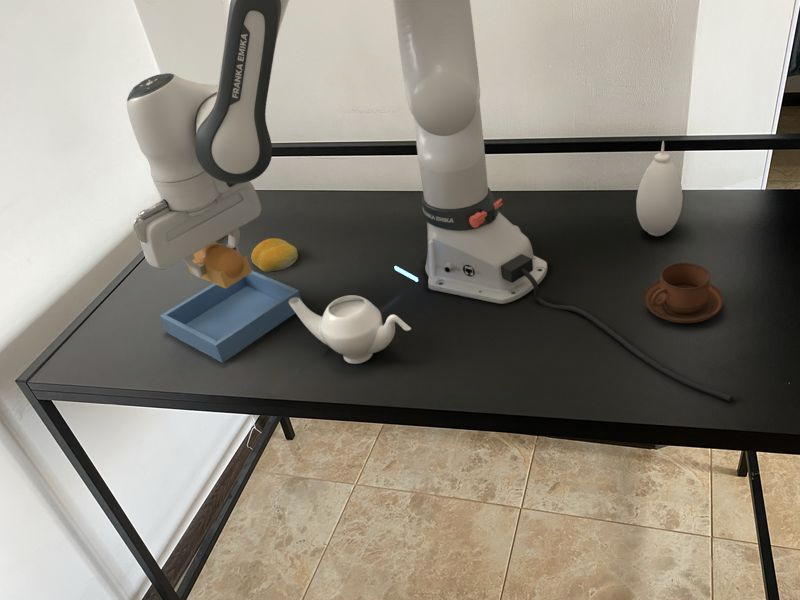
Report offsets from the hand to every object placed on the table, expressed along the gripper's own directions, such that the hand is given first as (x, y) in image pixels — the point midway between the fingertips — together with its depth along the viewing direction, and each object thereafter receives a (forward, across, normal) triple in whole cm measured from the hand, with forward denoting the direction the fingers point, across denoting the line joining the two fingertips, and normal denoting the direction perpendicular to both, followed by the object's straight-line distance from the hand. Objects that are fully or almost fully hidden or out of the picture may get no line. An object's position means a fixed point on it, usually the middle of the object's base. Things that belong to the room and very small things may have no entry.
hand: (218, 264), depth 122 cm
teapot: (+12, +4, -24) cm, 28 cm away
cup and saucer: (+13, +40, -62) cm, 75 cm away
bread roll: (+12, +17, +10) cm, 23 cm away
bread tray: (+12, 0, 0) cm, 12 cm away
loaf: (+2, 0, 0) cm, 2 cm away
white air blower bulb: (+13, +60, -48) cm, 78 cm away
